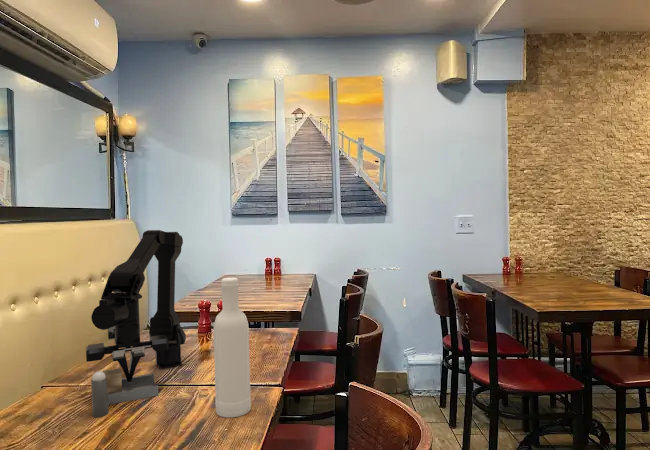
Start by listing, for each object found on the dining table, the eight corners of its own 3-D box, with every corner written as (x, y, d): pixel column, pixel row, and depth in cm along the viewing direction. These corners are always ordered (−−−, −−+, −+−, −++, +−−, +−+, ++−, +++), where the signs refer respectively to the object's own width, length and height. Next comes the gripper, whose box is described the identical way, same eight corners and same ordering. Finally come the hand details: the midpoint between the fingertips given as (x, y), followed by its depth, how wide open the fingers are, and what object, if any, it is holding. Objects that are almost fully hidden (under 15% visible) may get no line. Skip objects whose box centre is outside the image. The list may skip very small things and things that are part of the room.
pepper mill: (108, 410, 107) (106, 368, 107) (108, 415, 105) (106, 372, 104) (92, 413, 106) (90, 370, 106) (92, 418, 103) (90, 375, 103)
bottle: (257, 405, 108) (254, 276, 107) (240, 420, 101) (236, 281, 100) (227, 401, 111) (223, 275, 110) (208, 415, 103) (204, 280, 102)
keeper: (120, 387, 118) (120, 368, 118) (121, 393, 114) (121, 373, 114) (103, 390, 117) (102, 370, 116) (103, 396, 113) (103, 376, 113)
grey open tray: (153, 382, 125) (153, 362, 124) (158, 395, 116) (157, 373, 115) (95, 392, 118) (94, 371, 118) (95, 407, 109) (94, 383, 109)
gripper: (161, 309, 128) (163, 366, 129) (85, 318, 120) (87, 378, 120) (167, 317, 118) (169, 378, 119) (85, 327, 110) (87, 392, 110)
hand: (129, 381), depth 117 cm, fingers closed
